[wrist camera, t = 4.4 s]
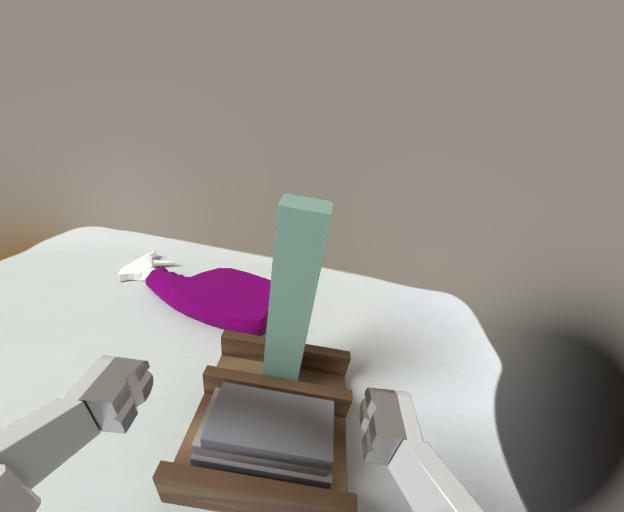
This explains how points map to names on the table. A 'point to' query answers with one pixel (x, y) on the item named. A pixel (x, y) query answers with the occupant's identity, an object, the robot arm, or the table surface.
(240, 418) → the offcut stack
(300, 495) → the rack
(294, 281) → the tall board
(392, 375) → the table surface
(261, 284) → the spray bottle
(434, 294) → the table surface
